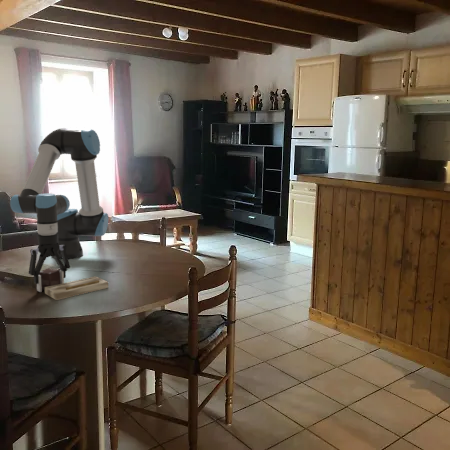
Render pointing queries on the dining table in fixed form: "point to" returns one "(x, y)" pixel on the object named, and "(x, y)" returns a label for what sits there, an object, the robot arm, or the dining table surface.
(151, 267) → the dining table surface
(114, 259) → the dining table surface
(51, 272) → the box
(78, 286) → the board
